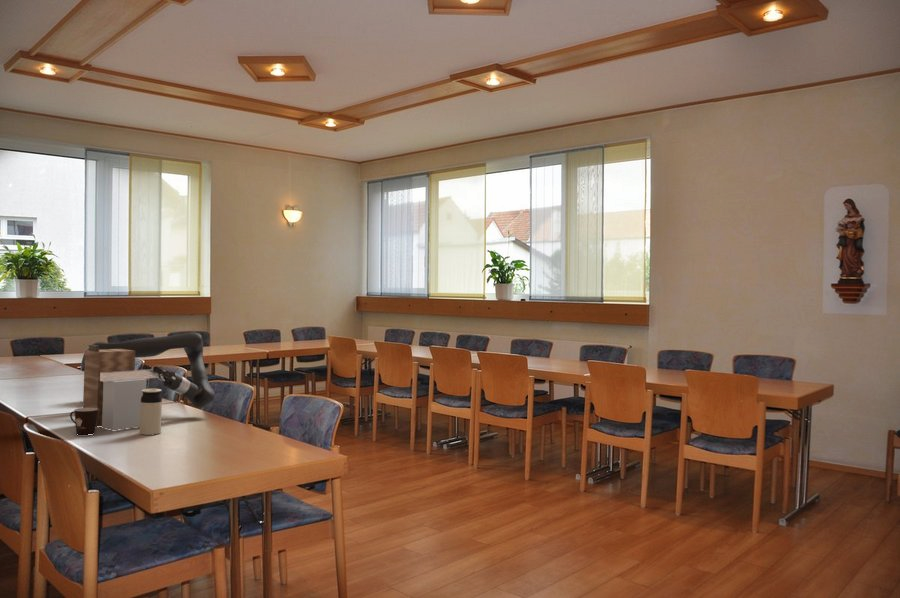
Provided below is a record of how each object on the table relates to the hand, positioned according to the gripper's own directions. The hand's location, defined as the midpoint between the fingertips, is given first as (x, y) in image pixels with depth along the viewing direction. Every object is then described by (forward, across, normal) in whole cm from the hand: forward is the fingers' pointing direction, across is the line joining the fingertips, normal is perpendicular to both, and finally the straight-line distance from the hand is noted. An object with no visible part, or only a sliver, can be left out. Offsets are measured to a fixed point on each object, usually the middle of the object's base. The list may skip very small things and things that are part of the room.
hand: (148, 367), depth 301 cm
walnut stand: (-4, -13, +27) cm, 30 cm away
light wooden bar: (+5, 0, +8) cm, 9 cm away
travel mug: (-5, +19, +26) cm, 33 cm away
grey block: (-4, 0, +27) cm, 27 cm away
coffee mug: (+11, +1, +36) cm, 37 cm away
